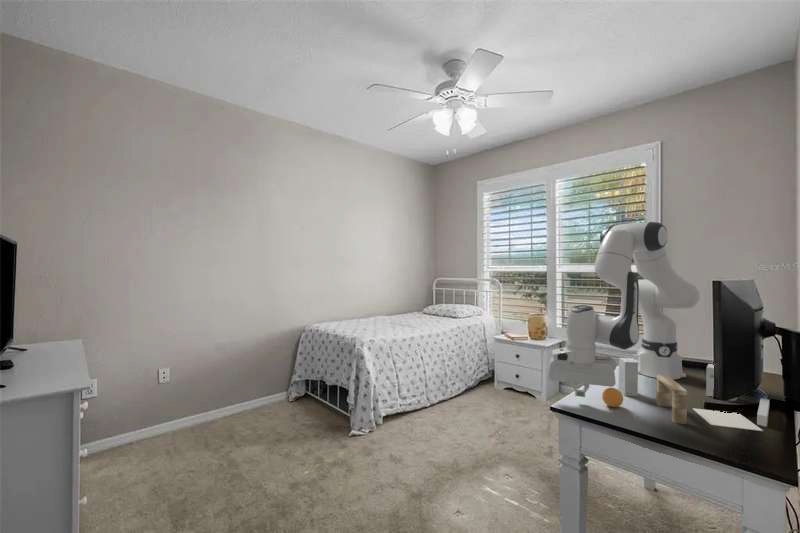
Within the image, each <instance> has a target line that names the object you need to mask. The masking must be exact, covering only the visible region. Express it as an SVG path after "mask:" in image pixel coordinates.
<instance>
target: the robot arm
mask: <svg viewBox="0 0 800 533" xmlns="http://www.w3.org/2000/svg"><path fill="white" fill-rule="evenodd" d="M599 242H600V245H599V248H598V250H597V251H598V252H597V253H596V258H595V261H594V272H595V273H596V275H597V277H598V278H599V279H600V280H602V281H604V282H605V283H606V284H608V285H611V286H613V287H615V288H617V289H619V290H620V295H621V298H620V300H621V301H620V312H619V313H620V314H619V315H618V316H612V315H605V314H600V313H598V312H596V311H595V308H594V307H593V306H591V305H588V304H587V305H583V304H581V305H574V306H572V307H570V308H569V310H568V313H567V317H566V335H567V340H566V343H565V346H564V347H559V348H554V349H552V351H551V358H550V359H549V362H548V366H547V377H548V379H549V380H550V381H551V382H563V383H570V384H571V386H572V388H573V390H574V396H575V397H582V398H585V397H586V392H588V390H589V388H590V385H591V386H593V385H594V386H601V387H609V388H614V386H615V385H616V373H615V370H616V368H617V362H616V360H615V359H613V358H612V357H610V356H600V355H596V353H597V352H596V351H597V349H596V348H597V345H596V343H597V344H602V345H607V346H611V347H614V348H617V349H620V350H628V349H630V348H632V347H634V346H636V344H637V343H638V342H639V339H640V326H639V314H640V316H641V319H642V325H643V326H642V328H643V338H642V339H641V347H640V349H639V350H638V351H637V352H636V353H633V354H632V359H633V360H634V361H636V362H638V375H639V374H640V375H643V376H646V377H650V378H655V379H657V374H658V375H668V376H669V377H670V378H671V379H673V380H679V379H681V378H687V374H686V373H685V372H683V363H682V356H681V355H680V354H679V353H678V348H679V347H678V341H677V324H676V322H675V321H674V320H673V319H672V318H671V317H669V316H667V315H665V314H664V312H663V311H662V308H666V309H674V310H675V309H676V310H677V309H678V310H679V309H683V310H684V309H693V308H694V307H695V306H696V305H697V304H698V303H699V301H700V295H701V294H700V290H699V289H698V288H697V286H696V285H695V284H693V283H691V282H688V281H687V280H685V279H684V278H683V277H681V276H680V275H679V274H678V273H677V272H676V271H675V270H674V269H673V267H672V266H671V263H670V260H669V257H668V253H667V250H666V247H665V246H666V245H667V242H668V230H667V228H666V226H665V225H663V224H662V223H661V222H657V221H649V222H638V221H637V222H629V223H623V224H617V225H616V224H613V225H608V226H606V227H604V228H603V230H602V231H601V232H600V236H599ZM632 261H633V262H634V264H635V265H634V266H635V269H636V271H637V274H638V275H639V276H640V277H641V278H642V279H638V276H637V274H636V273H634V272H633V271H632V270H633V269H632ZM643 278H644V279H643ZM578 384H580V385H581V384H582V385H583V386H584V387H583V388H582V389H577V386H578Z"/></svg>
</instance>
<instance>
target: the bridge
mask: <svg viewBox="0 0 800 533" xmlns="http://www.w3.org/2000/svg"><path fill="white" fill-rule="evenodd" d="M670 392H671V395H670ZM670 396H671V420H672V422H673V423H675V424H681V425H682V424H683V425H687V422H688V421H687V417H688V414H687V412H688V390H686V389H685V388H684V387H683V386H681V385H680V384H679V383H678V382H676V380H675V379H671V378H670V377H669V376H668V375H658V374H657V378H656V397H655V398H656V400H655V401H656V402H655V403H656V405H657V406H659V407H667V408H670Z"/></svg>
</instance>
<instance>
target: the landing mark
mask: <svg viewBox="0 0 800 533" xmlns="http://www.w3.org/2000/svg"><path fill="white" fill-rule="evenodd" d="M692 410H693V411H694V412H695V413H697V414H698V415H699V417H701V418H702V419H704V420H705V421H706V422H707V423H708V424H709V425H711V426H714V427H715V426H716V427H722V428H723V427H724V428H730V429H731V428H732V429H733V428H734V429H738V430H739V429H741V430H749V431H750V430H751V431H759V432H764V430H763V429H762V428H760V427H759V425H757V424H755V423H753V422H752V421H751V420H750V419H748V418H746V417H745V416H744V415H742V414H741V413H739V414H737V413H738V412H732V413H727V412H728V411H723V412H720V411H721V410H714V411H713V410H712V409H703V408H694V407H692ZM724 412H726V413H724Z"/></svg>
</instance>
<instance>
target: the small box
mask: <svg viewBox="0 0 800 533" xmlns="http://www.w3.org/2000/svg"><path fill="white" fill-rule="evenodd" d="M713 364H714V363H708V364H707V366H706V379H705V380H706V383H705V384H706V388H705V389H706V390H705V392H706V394H705V395H706V396H705V397H708V396H713V389H714V365H715V364H714V365H713Z"/></svg>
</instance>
